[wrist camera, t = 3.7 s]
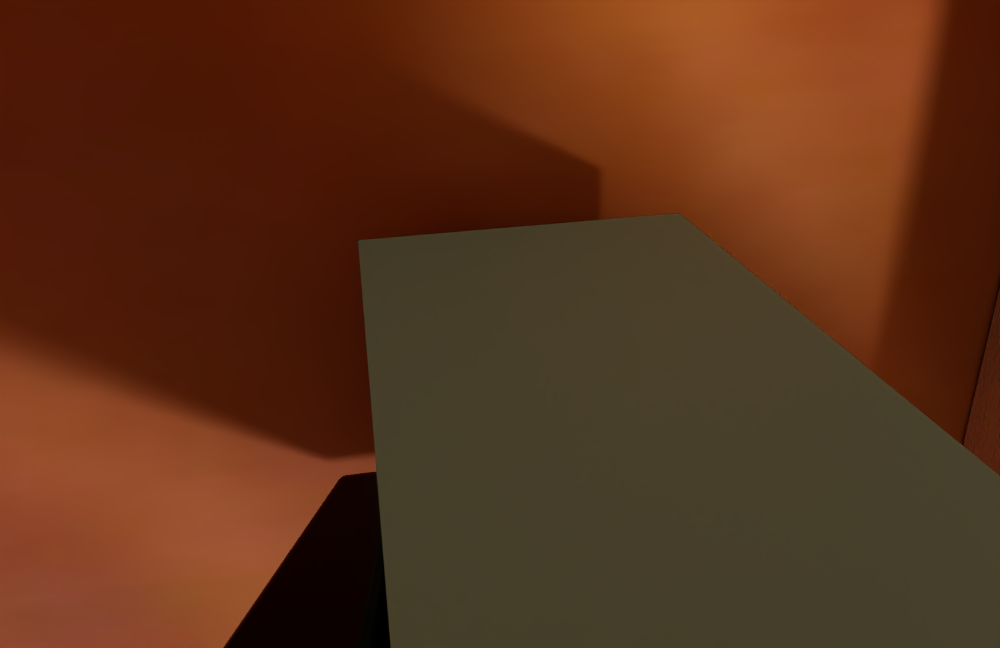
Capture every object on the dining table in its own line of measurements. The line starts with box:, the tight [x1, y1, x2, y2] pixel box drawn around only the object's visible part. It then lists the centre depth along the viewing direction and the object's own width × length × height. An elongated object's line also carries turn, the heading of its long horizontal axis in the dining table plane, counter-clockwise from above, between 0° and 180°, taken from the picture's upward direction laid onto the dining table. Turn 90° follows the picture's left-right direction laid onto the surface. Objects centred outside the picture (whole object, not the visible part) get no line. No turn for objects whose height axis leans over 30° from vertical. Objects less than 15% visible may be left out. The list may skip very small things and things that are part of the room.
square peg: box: [358, 213, 1000, 648], centre depth 8 cm, size 4×4×8 cm
